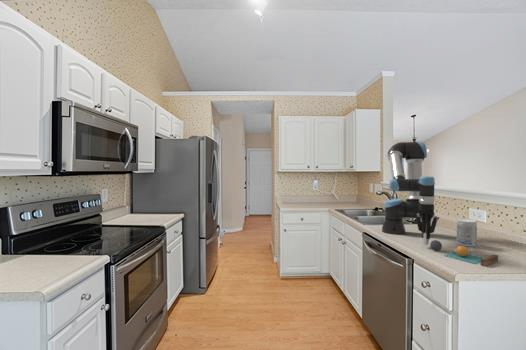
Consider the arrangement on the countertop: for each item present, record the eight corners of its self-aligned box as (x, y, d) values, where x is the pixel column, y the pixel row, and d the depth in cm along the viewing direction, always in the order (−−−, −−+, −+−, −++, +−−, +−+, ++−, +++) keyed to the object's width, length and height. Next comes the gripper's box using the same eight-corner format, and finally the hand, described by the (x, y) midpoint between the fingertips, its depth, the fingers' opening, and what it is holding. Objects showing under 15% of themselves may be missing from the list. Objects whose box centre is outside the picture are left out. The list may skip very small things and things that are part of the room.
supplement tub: (464, 242, 166) (465, 218, 166) (480, 246, 157) (481, 221, 157) (452, 243, 164) (452, 219, 163) (467, 247, 155) (468, 222, 154)
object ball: (462, 245, 137) (467, 256, 135) (467, 243, 140) (473, 254, 138) (451, 247, 141) (456, 258, 139) (456, 246, 144) (462, 256, 142)
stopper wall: (480, 265, 127) (480, 258, 127) (493, 260, 134) (493, 254, 133) (485, 266, 125) (485, 260, 125) (498, 261, 132) (498, 255, 132)
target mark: (443, 255, 141) (443, 255, 141) (457, 251, 148) (457, 251, 148) (475, 264, 129) (475, 263, 129) (488, 259, 135) (488, 258, 135)
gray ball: (436, 241, 147) (438, 251, 146) (443, 239, 149) (444, 249, 149) (427, 240, 152) (428, 250, 151) (433, 239, 154) (435, 248, 154)
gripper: (411, 202, 159) (411, 242, 159) (434, 205, 147) (434, 248, 148) (419, 201, 162) (418, 240, 163) (442, 204, 151) (441, 246, 152)
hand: (425, 244), depth 156 cm, fingers closed
